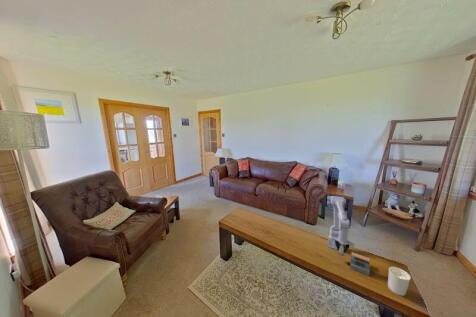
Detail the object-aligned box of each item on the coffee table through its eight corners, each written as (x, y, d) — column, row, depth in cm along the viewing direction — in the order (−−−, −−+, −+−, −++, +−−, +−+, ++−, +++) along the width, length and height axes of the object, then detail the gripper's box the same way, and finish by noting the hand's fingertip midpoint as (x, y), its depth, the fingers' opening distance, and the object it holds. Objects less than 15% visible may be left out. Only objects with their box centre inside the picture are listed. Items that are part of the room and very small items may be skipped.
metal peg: (337, 254, 125) (338, 245, 124) (338, 251, 129) (339, 242, 127) (343, 256, 123) (344, 247, 122) (344, 253, 126) (345, 244, 125)
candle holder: (383, 280, 109) (385, 264, 108) (402, 285, 106) (405, 269, 104) (390, 293, 100) (393, 276, 99) (411, 299, 97) (414, 282, 95)
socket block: (350, 268, 119) (350, 261, 118) (350, 258, 129) (351, 251, 128) (369, 276, 113) (370, 269, 112) (368, 264, 122) (369, 258, 121)
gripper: (331, 234, 124) (329, 250, 127) (354, 241, 116) (352, 258, 118) (332, 229, 130) (331, 245, 132) (354, 236, 121) (352, 252, 124)
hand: (341, 251), depth 125 cm, fingers closed on metal peg, 4 cm apart
